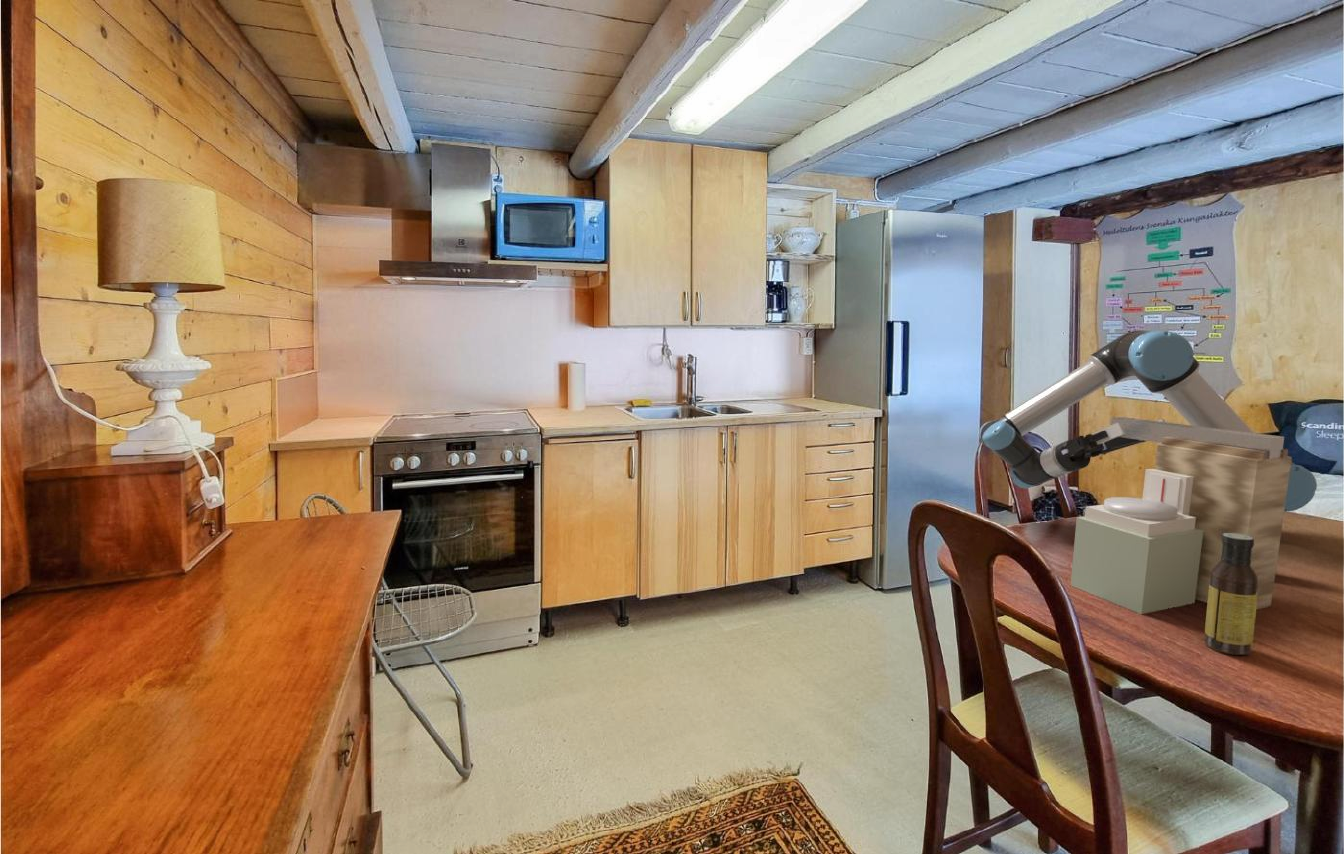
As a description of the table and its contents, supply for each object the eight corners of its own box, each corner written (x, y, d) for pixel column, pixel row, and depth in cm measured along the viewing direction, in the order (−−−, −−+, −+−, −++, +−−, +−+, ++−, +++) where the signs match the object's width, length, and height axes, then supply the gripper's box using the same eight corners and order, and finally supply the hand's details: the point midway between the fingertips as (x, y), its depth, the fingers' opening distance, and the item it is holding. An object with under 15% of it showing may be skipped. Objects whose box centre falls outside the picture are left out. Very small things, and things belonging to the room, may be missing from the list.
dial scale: (1084, 518, 135) (1089, 471, 133) (1135, 511, 140) (1140, 466, 138) (1147, 536, 123) (1153, 485, 121) (1201, 528, 127) (1207, 479, 126)
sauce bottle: (1260, 654, 108) (1276, 540, 105) (1231, 659, 107) (1247, 543, 104) (1220, 637, 114) (1234, 529, 111) (1192, 641, 113) (1206, 531, 110)
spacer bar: (1109, 435, 148) (1111, 418, 147) (1121, 434, 149) (1122, 417, 149) (1268, 459, 120) (1271, 438, 120) (1281, 457, 122) (1284, 436, 121)
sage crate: (1070, 585, 138) (1076, 517, 135) (1120, 576, 142) (1127, 510, 140) (1141, 614, 123) (1149, 539, 121) (1194, 603, 128) (1203, 530, 126)
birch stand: (1142, 579, 140) (1158, 437, 136) (1174, 574, 144) (1190, 434, 139) (1237, 613, 123) (1258, 452, 119) (1270, 606, 127) (1293, 449, 122)
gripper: (1108, 468, 164) (1190, 438, 145) (1033, 476, 156) (1109, 445, 138) (1096, 441, 167) (1175, 408, 148) (1022, 447, 159) (1095, 413, 140)
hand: (1144, 426), depth 143 cm, fingers open, 13 cm apart
